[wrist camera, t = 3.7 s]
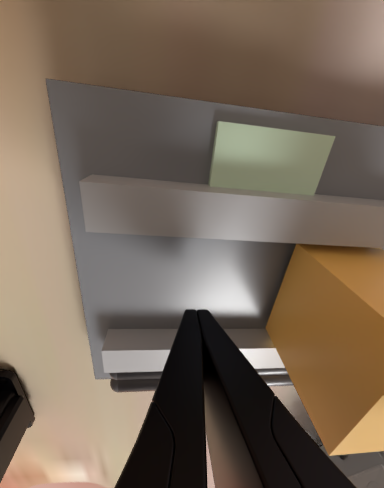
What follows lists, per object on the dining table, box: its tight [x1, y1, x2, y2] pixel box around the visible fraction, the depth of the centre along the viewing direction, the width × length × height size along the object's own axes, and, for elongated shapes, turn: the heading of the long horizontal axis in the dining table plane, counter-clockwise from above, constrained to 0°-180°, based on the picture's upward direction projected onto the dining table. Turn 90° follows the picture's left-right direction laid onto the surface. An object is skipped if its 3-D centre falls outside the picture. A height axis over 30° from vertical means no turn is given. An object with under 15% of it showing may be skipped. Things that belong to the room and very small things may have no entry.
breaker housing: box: [45, 78, 384, 392], centre depth 11 cm, size 22×14×3 cm, turn 84°
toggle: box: [266, 243, 384, 456], centre depth 8 cm, size 4×5×5 cm
